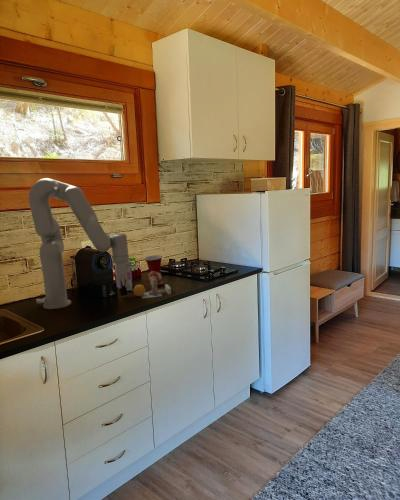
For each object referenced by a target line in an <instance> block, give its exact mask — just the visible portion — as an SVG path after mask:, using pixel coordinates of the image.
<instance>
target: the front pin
mask: <svg viewBox="0 0 400 500" xmlns="http://www.w3.org/2000/svg"><path fill="white" fill-rule="evenodd" d="M157 291H158V294H162V295H165V294H167V292H166V290H165V288H164V289H163V288H162V289H157ZM148 293H149V295H153V291H151V290H149V291H148Z"/></svg>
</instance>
